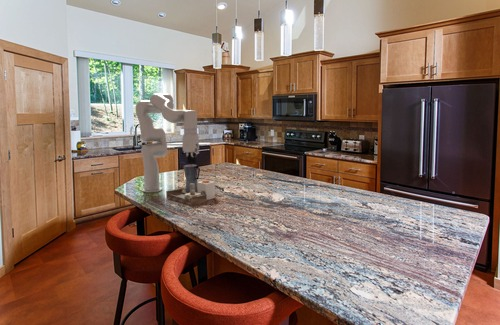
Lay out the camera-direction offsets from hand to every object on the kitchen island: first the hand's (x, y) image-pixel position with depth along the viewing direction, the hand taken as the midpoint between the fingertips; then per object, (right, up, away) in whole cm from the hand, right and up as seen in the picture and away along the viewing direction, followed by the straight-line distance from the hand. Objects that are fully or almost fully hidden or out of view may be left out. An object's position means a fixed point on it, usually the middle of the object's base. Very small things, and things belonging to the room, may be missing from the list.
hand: (191, 163), depth 190 cm
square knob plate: (0, -21, +3) cm, 21 cm away
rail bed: (-5, -22, +8) cm, 24 cm away
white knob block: (+7, -21, +12) cm, 26 cm away
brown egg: (+7, -15, +11) cm, 20 cm away
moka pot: (-4, -19, +28) cm, 34 cm away
